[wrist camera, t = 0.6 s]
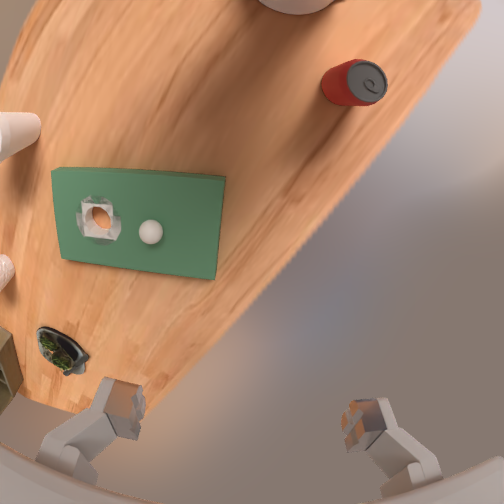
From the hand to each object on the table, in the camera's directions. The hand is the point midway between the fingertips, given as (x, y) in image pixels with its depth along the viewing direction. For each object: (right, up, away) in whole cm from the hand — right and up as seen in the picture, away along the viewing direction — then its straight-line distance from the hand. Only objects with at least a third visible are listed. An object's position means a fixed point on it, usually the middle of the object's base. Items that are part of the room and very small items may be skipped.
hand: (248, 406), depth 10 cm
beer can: (+14, +32, +30) cm, 46 cm away
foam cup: (-43, +30, +31) cm, 61 cm away
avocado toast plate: (-53, -22, +58) cm, 82 cm away
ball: (-16, +9, +36) cm, 41 cm away
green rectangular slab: (-21, +12, +40) cm, 47 cm away
